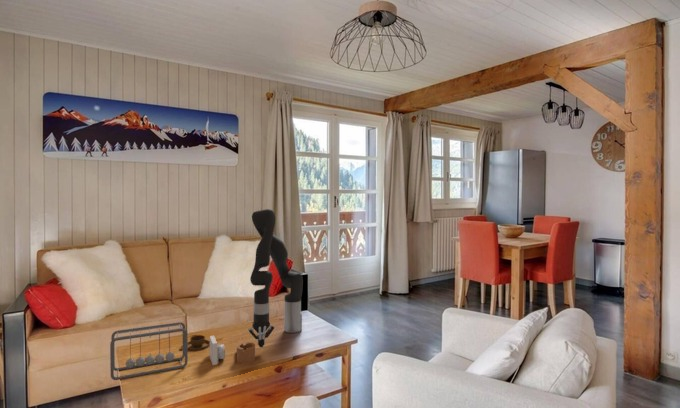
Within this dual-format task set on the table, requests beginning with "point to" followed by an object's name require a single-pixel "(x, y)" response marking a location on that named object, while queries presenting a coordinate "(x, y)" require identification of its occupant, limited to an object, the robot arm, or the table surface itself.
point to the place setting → (197, 342)
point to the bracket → (245, 353)
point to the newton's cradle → (150, 359)
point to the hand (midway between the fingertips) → (261, 346)
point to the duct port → (216, 351)
